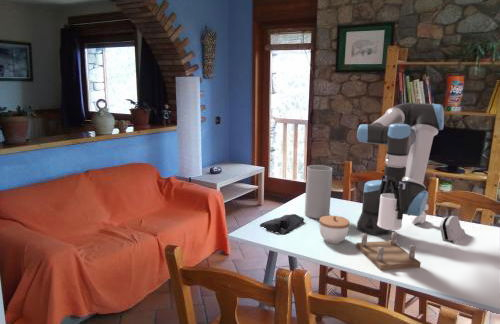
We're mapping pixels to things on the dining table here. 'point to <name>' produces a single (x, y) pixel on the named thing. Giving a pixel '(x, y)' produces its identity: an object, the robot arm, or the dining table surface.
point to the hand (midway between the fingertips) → (389, 221)
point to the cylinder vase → (318, 191)
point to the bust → (419, 217)
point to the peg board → (388, 254)
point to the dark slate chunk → (283, 223)
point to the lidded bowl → (334, 228)
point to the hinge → (451, 229)
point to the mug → (387, 212)
